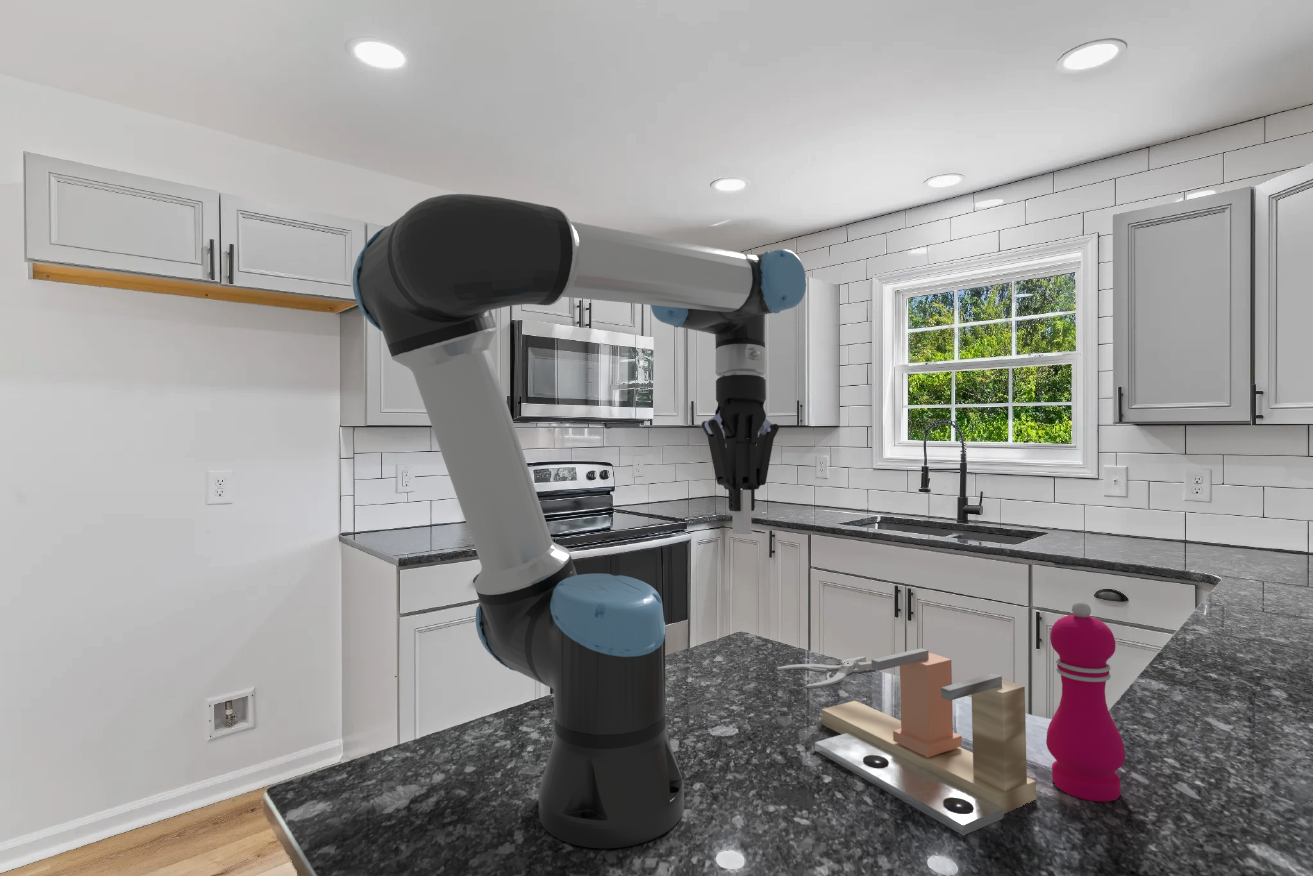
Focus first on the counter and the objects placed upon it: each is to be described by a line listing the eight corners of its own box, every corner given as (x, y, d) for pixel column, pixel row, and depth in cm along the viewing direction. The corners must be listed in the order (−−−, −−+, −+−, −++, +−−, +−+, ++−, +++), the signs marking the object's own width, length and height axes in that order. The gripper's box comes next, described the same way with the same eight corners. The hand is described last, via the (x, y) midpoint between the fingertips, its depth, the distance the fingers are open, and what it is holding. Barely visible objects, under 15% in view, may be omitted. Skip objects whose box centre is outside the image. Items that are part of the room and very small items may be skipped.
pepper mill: (1053, 765, 79) (1049, 591, 79) (1129, 784, 74) (1125, 599, 75) (1041, 790, 73) (1036, 603, 74) (1122, 812, 69) (1117, 613, 69)
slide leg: (894, 768, 74) (892, 666, 74) (860, 750, 79) (858, 654, 79) (961, 746, 79) (959, 650, 79) (926, 730, 84) (924, 640, 84)
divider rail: (965, 830, 66) (962, 695, 66) (792, 732, 89) (790, 632, 89) (1036, 800, 72) (1033, 675, 72) (855, 715, 94) (853, 620, 95)
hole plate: (963, 835, 65) (963, 823, 65) (815, 750, 84) (814, 741, 84) (1003, 818, 68) (1003, 806, 68) (851, 739, 87) (851, 730, 87)
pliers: (776, 661, 114) (852, 650, 119) (776, 671, 114) (852, 660, 119) (808, 680, 105) (889, 668, 110) (808, 691, 105) (889, 677, 110)
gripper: (719, 369, 98) (720, 536, 96) (790, 377, 104) (792, 533, 102) (691, 377, 104) (691, 533, 102) (759, 384, 111) (761, 531, 108)
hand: (741, 533), depth 102 cm, fingers closed
